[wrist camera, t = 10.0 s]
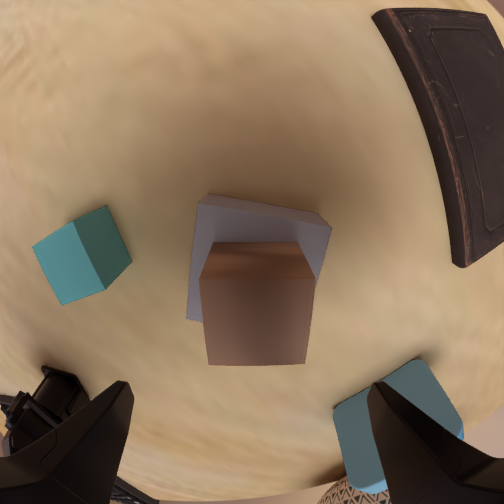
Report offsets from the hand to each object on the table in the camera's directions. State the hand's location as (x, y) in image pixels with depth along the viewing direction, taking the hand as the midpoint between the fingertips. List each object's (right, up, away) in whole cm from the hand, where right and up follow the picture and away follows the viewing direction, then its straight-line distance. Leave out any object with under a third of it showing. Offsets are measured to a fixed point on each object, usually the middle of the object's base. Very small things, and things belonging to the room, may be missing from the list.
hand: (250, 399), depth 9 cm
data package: (+15, -11, +18) cm, 26 cm away
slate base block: (0, +5, +12) cm, 13 cm away
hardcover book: (+22, +17, +8) cm, 29 cm away
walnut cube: (0, +3, +9) cm, 9 cm away
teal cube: (-13, +6, +12) cm, 18 cm away
